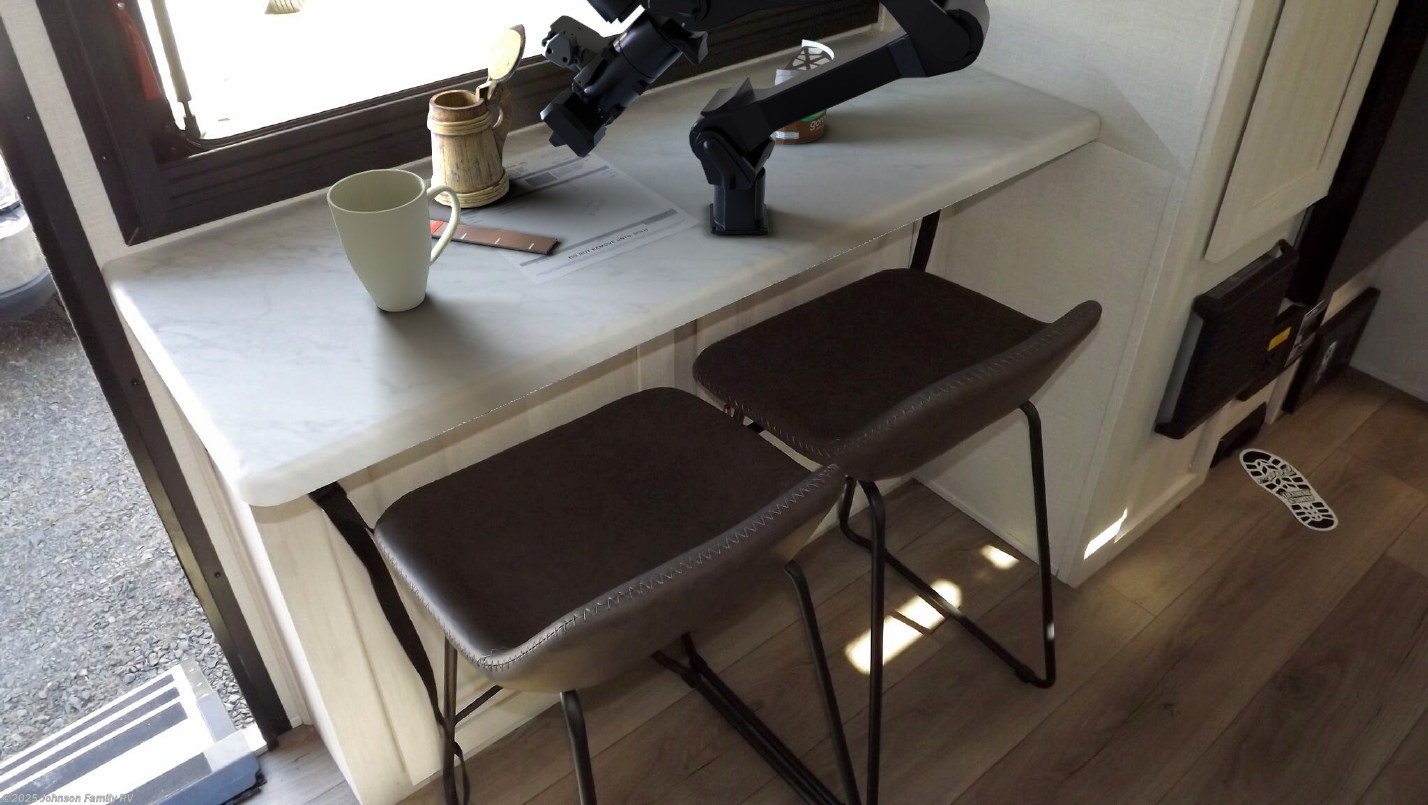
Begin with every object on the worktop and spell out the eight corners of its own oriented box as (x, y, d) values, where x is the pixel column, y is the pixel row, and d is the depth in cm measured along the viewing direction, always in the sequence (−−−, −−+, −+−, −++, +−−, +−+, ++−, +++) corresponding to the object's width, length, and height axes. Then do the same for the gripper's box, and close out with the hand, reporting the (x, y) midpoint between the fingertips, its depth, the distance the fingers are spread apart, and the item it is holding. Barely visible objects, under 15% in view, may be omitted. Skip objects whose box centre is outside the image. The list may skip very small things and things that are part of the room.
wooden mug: (556, 186, 123) (541, 35, 112) (448, 215, 118) (421, 59, 106) (524, 158, 129) (507, 12, 118) (421, 184, 123) (392, 33, 112)
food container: (818, 155, 130) (824, 77, 124) (771, 147, 132) (775, 70, 126) (843, 117, 139) (849, 43, 133) (799, 111, 141) (803, 37, 135)
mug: (434, 329, 100) (412, 218, 92) (338, 318, 101) (309, 208, 94) (474, 270, 108) (457, 165, 101) (385, 261, 110) (361, 156, 102)
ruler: (557, 240, 113) (556, 238, 113) (546, 254, 111) (546, 251, 111) (392, 216, 117) (392, 214, 117) (379, 229, 115) (378, 226, 115)
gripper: (615, -31, 113) (533, 60, 122) (549, 24, 99) (462, 122, 108) (685, 47, 116) (600, 130, 125) (632, 111, 102) (540, 199, 111)
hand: (552, 142), depth 117 cm, fingers closed
